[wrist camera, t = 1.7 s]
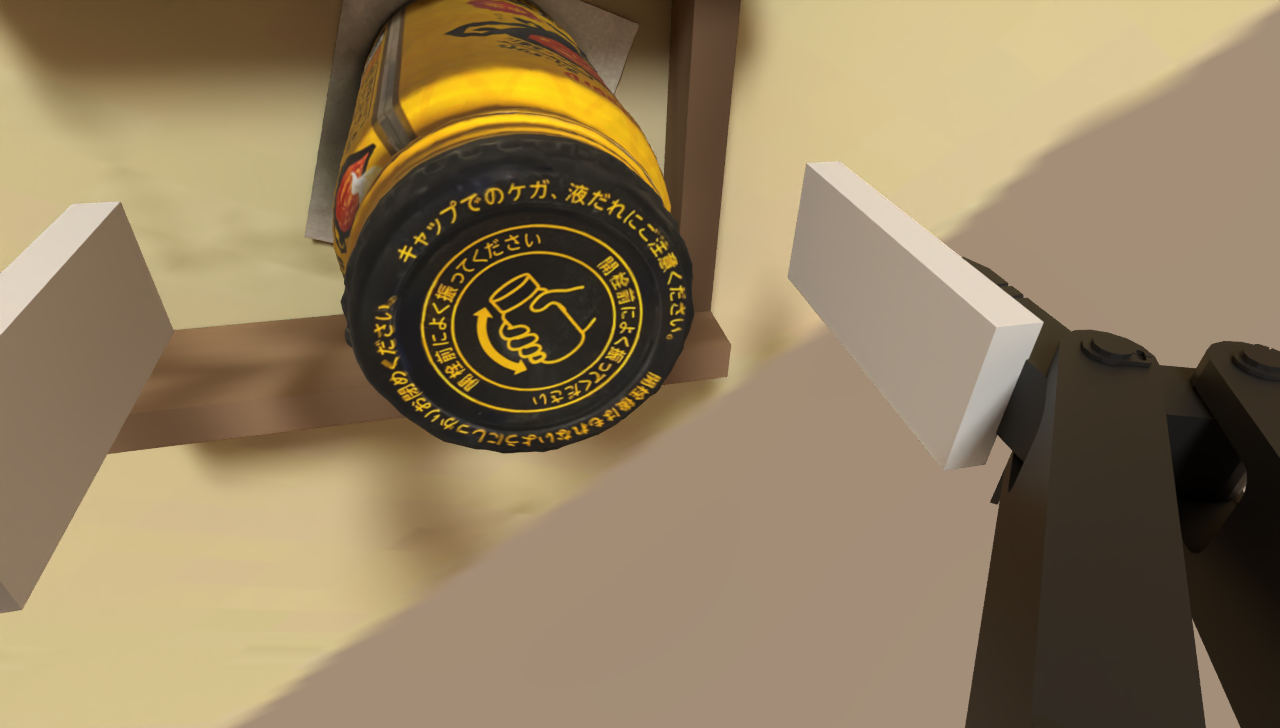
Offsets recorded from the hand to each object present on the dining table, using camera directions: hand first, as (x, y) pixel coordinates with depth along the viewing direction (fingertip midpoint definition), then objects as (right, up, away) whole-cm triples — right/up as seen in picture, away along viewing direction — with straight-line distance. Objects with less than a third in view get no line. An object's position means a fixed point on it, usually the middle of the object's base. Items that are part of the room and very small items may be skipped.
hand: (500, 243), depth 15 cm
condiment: (-2, +4, +6) cm, 8 cm away
